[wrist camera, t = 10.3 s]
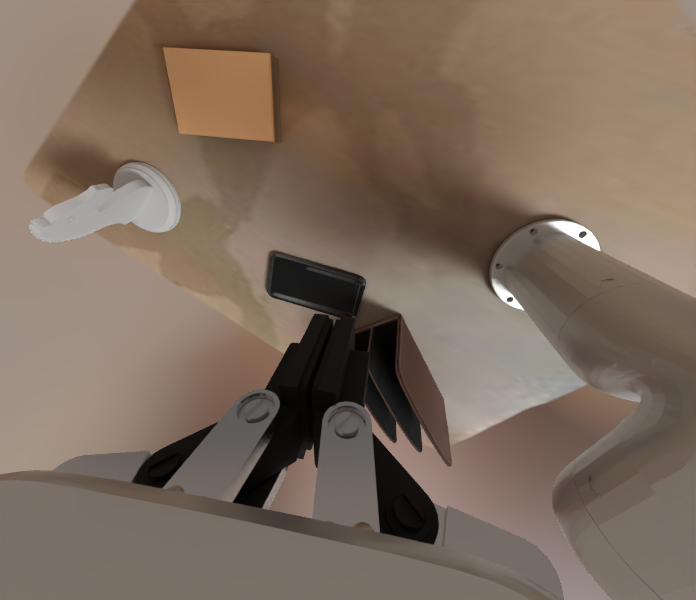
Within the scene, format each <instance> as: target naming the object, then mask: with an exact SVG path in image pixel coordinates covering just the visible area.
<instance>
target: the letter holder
mask: <svg viewBox="0 0 696 600" xmlns="http://www.w3.org/2000/svg"><path fill="white" fill-rule="evenodd" d="M354 350H359V351H367V352H370V362H369V373H368V383H367V391H366V399H365V405H366V407H367V408H368V410H369V411H370V413H371V415H372V416H373V418H374V419H375V420H376V422H377V423H378V425H379V426H380V428H381V429H382V430H383V432H384V433H385V434H386V436H387V437H388V438H389V439H390V440H391V441H392V442H393V443H396V441H397V439H396V422H397V424H398V425H399V427H400V428H401V430H402V431H403V433H405V436H406V437H407V438H408V440H409V441H410V443H411V444H412V445H413V446H414V448H415V449H416V450H417V451H418V452H421V451H422V440H421V427H420V423H421V425H422V427H423V429H424V431H425V433H426V434H427V436H428V438H429V439H430V441H431V443H432V444H433V446H434V447H435V449H436V450H437V452H438V453H439V455H440V456H441V458H442V459H443V461H444V462H445V463H446V464H447V466H449V467H450V466H451V465H452V459H451V452H450V443H449V433H448V426H447V420H446V413H445V405H444V399H443V397H442V395H441V393H440V391H439V389H438V387H437V385H436V383H435V381H434V379H433V377H432V375H431V373H430V371H429V369H428V367H427V365H426V363H425V361H424V359H423V357H422V355H421V353H420V351H419V349H418V347H417V345H416V343H415V341H414V339H413V337H412V335H411V333H410V331H409V329H408V327H407V325H406V323H405V321H404V319H403V317H402V315H401V314H400V315H397V316H394V317H391V318H388V319H385V320H382V321H379V322H377V323H374V324H371V325H368V326H365V327H362V328H360V329H357V330H355V345H354Z"/></svg>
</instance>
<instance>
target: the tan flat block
mask: <svg viewBox="0 0 696 600" xmlns="http://www.w3.org/2000/svg"><path fill="white" fill-rule="evenodd" d="M163 51H164V56H165V61H166V66H167V71H168V77H169V82H170V87H171V92H172V97H173V103H174V108H175V113H176V118H177V123H178V129H179V134H191V135H202V136H213V137H224V138H236V139H247V140H258V141H269V142H281V118H280V90H279V63H278V59H276V58H275V57H274V56H272V55H271V54H269V53H259V52H241V51H222V50H204V49H185V48H166V47H163Z"/></svg>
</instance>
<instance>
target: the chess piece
mask: <svg viewBox="0 0 696 600" xmlns="http://www.w3.org/2000/svg"><path fill="white" fill-rule="evenodd" d="M180 216H181V204H180V200H179V196H178V194H177V192H176V190H175V188H174V186H173V184H172V183H171V182H170V180H169V179H168V178H167V177H166V176H165V175H164V174H163V173H162V172H161V171H159V170H158V169H157V168H155V167H153V166H151V165H149V164H146V163H142V162H131V163H127V164H125V165H123V166H122V167H120V168H119V169H118V170H117V172H116V174H115V176H114V181H113V188H112V187H111V186H109V185H108V184H105V183H104V184H98V185H92V186H90V187H89V188H88V190H86V191H85V192H83V193H82V194H80V195H78V196H76V197H75V198H72V199H69V200H67V201H65V202H63V203H59V204H57V205H55V206H53V207H51V208H50V209H48V210H47V211H46V212H45V213H44V214H43V217H39V218H36V219H33V220H31V224H30V225H29V226H28V227H29V228H30V231H31V232H32V234H33V235H34V236H35V237H37V238H38V239H39V240H40V241H42V242H44V241H47V242H51V243H54V242H61V241H68V240H73V239H75V238H79V237H83V236H84V235H88V234H90V233H92V232H95V231H97V230H99V229H101V228H104V227H106V226H109V225H113V224H117V223H121V224H123V225H125V224H127V223H129V222H133V223H134V224H136V225H137V226H139V227H140V228H142V229H145V230H147V231H150V232H166V231H169V230H171V229H173V228H174V227H175V226H176V225H177V223H178V222H179V219H180Z"/></svg>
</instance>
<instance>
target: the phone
mask: <svg viewBox="0 0 696 600" xmlns="http://www.w3.org/2000/svg"><path fill="white" fill-rule="evenodd" d="M365 285H366V281H365V279H364V278H363V277H361V276H359V275H355V274H352V273H348V272H345V271H342V270H339V269H336V268H331V267H328V266H324V265H321V264H318V263H314V262H311V261H307V260H304V259H300V258H297V257H294V256H290V255H287V254H283V253H279V252H277V253H275V254H273V255H272V256H271V259H270V268H269V277H268V287H267V292H268V294H269V295H270V296H271V297H273V298H276V299H280V300H283V301H286V302H290V303H293V304H296V305H300V306H303V307H307V308H310V309H313V310H317V311H320V312H323V313H327V314H330V315H334V316H337V317H340V318H342V317H352V318H355V317H356V315H357V311H358V308H359V305H360V302H361V299H362V295H363V292H364V289H365Z"/></svg>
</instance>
